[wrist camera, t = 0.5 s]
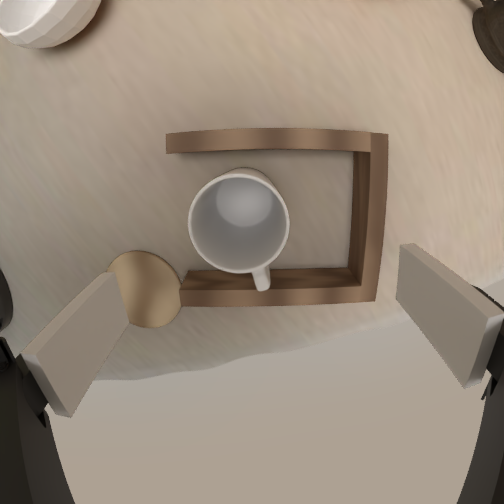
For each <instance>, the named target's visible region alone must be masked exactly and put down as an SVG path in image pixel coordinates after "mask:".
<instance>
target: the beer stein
mask: <svg viewBox="0 0 504 504" xmlns="http://www.w3.org/2000/svg"><path fill="white" fill-rule="evenodd" d="M480 1H481V2H482V4H483V6H484V7H481V8H479V9H478V10H476V12H475V13H474V17H473V26H474V32H475V35H476V38H477V40H478V42H479V44H480V46H481V48H482V50H483V52H484V54H485V55H486V56H487V58H488V59H489V60H490V61H491V62H492V64H493V65H494V66H495V67H496V68H498V69H499V70H500V71H501V72H503V73H504V0H496V1H494V0H480Z"/></svg>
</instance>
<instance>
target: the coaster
mask: <svg viewBox="0 0 504 504" xmlns="http://www.w3.org/2000/svg"><path fill="white" fill-rule="evenodd" d="M107 272H115V275H116V278H117V282H118V286H119V289H120V293H121V296H122V300H123V303H124V306H125V310H126V313H127V316H128V319H129V322H130V323H131V324H134V325H136V326H139V327H144V328H157V327H161V326H164V325H166V324H168V323H169V322H171V321H172V320H173V319H174V318H175V317H176V315H177V314H178V312H179V310H180V307H181V304H180V296H179V289H180V287H181V282H180V280H179V278H178V276H177V274H176V272H175V271H174V270H173V268H172V267H171V266H170V265H169V264H168V263H167V262H166V261H164V260H163V259H162V258H160V257H158V256H157V255H154V254H152V253H149V252H145V251H130V252H126V253H124V254H122V255H120V256H119V257H117V258H116V259H115V260H114V261H113V262H112V263H111V264H110V266H109V267H108V269H107ZM107 272H106V273H107Z"/></svg>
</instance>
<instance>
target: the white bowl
mask: <svg viewBox="0 0 504 504" xmlns="http://www.w3.org/2000/svg"><path fill="white" fill-rule="evenodd" d="M100 3H101V0H1V1H0V33H1V34H2V35H3V36H4V37H5V38H6V39H8V40H9V41H10V42H11V43H13V44H14V45H17V46H21V47H24V48H47V47H54V46H56V45H58V44H61V43H63V42H66V41H68V40H69V39H71V38H72V37H74V36H75V35H76V34H77V33H79V32H80V31H81V30H83V29H84V28H85V27H86V25H87V24H88V23H89V22H90V21H91V19H92V18H93V17H94V15H95V13H96V11H97V9H98V7H99V5H100Z"/></svg>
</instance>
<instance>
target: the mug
mask: <svg viewBox="0 0 504 504" xmlns="http://www.w3.org/2000/svg"><path fill="white" fill-rule="evenodd" d="M289 227H290V221H289V214H288V210H287V207H286V204H285V202H284V200H283V198H282V197H281V195H280V193H279V192H278V191H277V189H276V188H275V186H274V185H273V184H272V182H271V181H270V180H269V179H268V178H267V177H266V176H265V175H264V174H263V173H262V172H260V171H258V170H256V169H253V168H248V167H241V168H236V169H233V170H231V171H228V172H226V173H225V174H223V175H221V176H219V177H217V178H215V179H214V180H212V181H210V182H209V183H207V184H206V185H205V186H204V187H203V188H202V189H201V190H200V191H199V192H198V194H197V195H196V196H195V198H194V200H193V202H192V204H191V207H190V210H189V215H188V231H189V235H190V239H191V241H192V244H193V246H194V247H195V249H196V251H197V252H198V253H199V255H200V256H201V257H202V258H203V259H204V260H205V261H207V262H208V263H209V264H211V265H212V266H214V267H216V268H218V269H220V270H223V271H226V272H231V273H249V272H252V275H253V278H254V282H255V285H256V288H257V290H258V291H265V290H267V289H269V287H270V271H269V264H270V263H271V262H272V261H273V260H274V259H275V258H276V257H277V256H278V255H279V254H280V253H281V251H282V250H283V248H284V246H285V244H286V241H287V238H288V235H289Z"/></svg>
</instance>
